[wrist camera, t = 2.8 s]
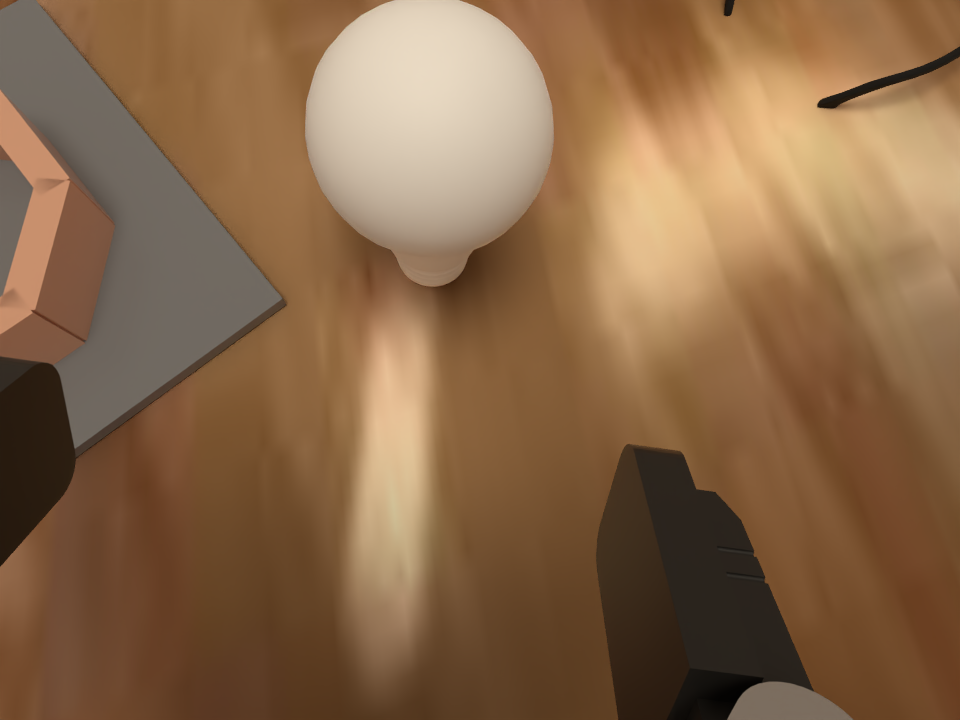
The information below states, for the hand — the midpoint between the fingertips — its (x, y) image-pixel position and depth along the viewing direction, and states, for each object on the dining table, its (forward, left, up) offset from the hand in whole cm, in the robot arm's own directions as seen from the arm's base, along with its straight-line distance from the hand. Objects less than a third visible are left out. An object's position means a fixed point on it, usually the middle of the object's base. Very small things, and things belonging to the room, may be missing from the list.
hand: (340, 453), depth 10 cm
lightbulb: (-7, -6, -13) cm, 16 cm away
